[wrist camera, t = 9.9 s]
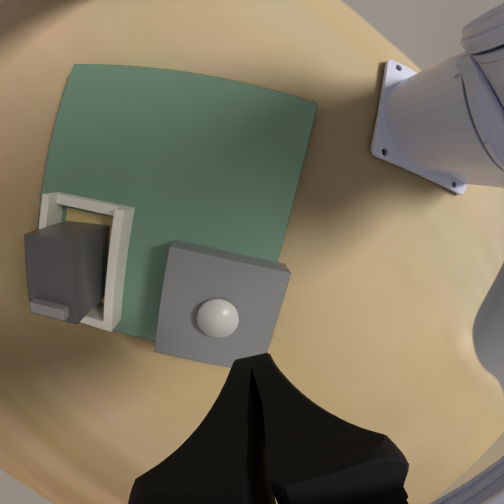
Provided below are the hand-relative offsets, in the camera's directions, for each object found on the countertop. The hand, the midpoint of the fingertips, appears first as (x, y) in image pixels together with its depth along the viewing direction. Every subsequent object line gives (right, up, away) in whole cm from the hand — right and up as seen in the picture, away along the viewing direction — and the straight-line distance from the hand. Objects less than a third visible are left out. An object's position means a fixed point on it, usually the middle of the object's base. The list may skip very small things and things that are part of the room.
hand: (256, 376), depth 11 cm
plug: (-11, +4, +7) cm, 14 cm away
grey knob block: (-2, +2, +10) cm, 10 cm away
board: (-6, +8, +8) cm, 13 cm away
